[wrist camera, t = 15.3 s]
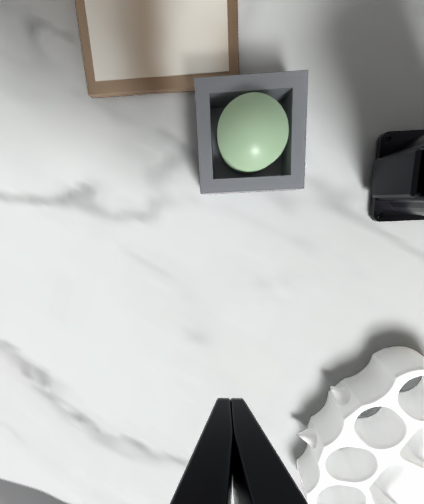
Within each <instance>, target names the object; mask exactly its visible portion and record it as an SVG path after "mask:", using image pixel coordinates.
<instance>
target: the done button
mask: <svg viewBox="0 0 424 504" xmlns="http://www.w3.org/2000/svg"><path fill="white" fill-rule="evenodd" d="M288 134H289V124H288V119H287V116H286V113H285V111H284V109H283V108H282V106H281V105H280V104H279V103H278V102H277V101H276V100H275V99H274V98H272V97H271V96H269V95H267V94H263V93H258V92H251V93H246V94H242V95H240V96H238V97H236V98H235V99H233V100H232V101H231V102H230V103H229V104H228V105H227V106H226V108H225V109H224V110H223V112H222V114H221V116H220V119H219V122H218V128H217V142H218V151H219V155H220V157H221V159H222V161H223V162H224V164H225V165H226V166H227V167H228V168H229V169H231V170H232V171H234V172H236V173H239V174H253V173H256V172H259V171H261V170H262V169H264V168H265V167H267V166H268V165H270V164H271V163H272V162H274V161H275V160H276V159H277V158H278V157H279V156H280V154H281V153H282V151H283V150H284V148H285V146H286V143H287V140H288Z"/></svg>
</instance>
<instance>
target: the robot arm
mask: <svg viewBox="0 0 424 504" xmlns="http://www.w3.org/2000/svg"><path fill="white" fill-rule="evenodd" d="M385 137H387V138H388V142H387V143H386V142H385V140H384V139H385ZM371 195H372V205H371V219H372V220H374V221H379V222H380V221H403V220H424V130H410V131H393V132H386V133H384V134H382V135H380V136H379V138H378V142H377V152H376V161H375V162H374V168H373V179H372V190H371ZM379 212H380V216H379V217H377V214H378V213H379ZM232 486H233V495H234V503H235V504H308V503H307V501H306V500H305V498H304V496H303V495H302V493H301V491H300V490H299V488H298V487H297V485H296V483H295V482H294V480H293V478H292V477H291V475H290V474H289V472H288V470H287V469H286V467H285V466H284V464H283V462H282V461H281V459H280V457H279V456H278V454H277V453H276V451H275V449H274V448H273V446H272V445H271V443H270V441H269V440H268V438H267V436H266V435H265V433H264V432H263V430H262V428H261V427H260V425H259V424H258V422H257V420H256V419H255V417H254V415H253V414H252V412H251V411H250V409H249V407H248V406H247V404H246V403H245V401H244V400H243V399H242V398H232V399H231V400H230V399H229V398H218V399H217V401H216V403H215V405H214V407H213V409H212V412H211V414H210V416H209V418H208V421H207V423H206V425H205V427H204V429H203V432H202V434H201V436H200V438H199V440H198V443H197V445H196V447H195V449H194V452H193V454H192V456H191V458H190V460H189V463H188V465H187V467H186V469H185V471H184V474H183V476H182V478H181V480H180V483H179V485H178V487H177V489H176V491H175V494H174V496H173V498H172V500H171V503H170V504H231V493H232Z"/></svg>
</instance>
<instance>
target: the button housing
mask: <svg viewBox="0 0 424 504" xmlns="http://www.w3.org/2000/svg"><path fill="white" fill-rule="evenodd" d="M194 86H195V104H196V122H197V139H198V157H199V174H200V192H201V194H223V193H243V192H262V191H282V190H295V189H303V188H304V176H305V147H306V118H307V89H308V70H300V71H286V72H272V73H258V74H244V75H230V76H216V77H202V78H194ZM251 92H258V93H263V94H267V95H269V96H271V97H272V98H274V99H275V100H276V101H277V102H278V103H279V104H280V105H281V106H282V108H283V109H284V111H285V113H286V116H287V119H288V124H289V134H288V140H287V143H286V146H285V148H284V150H283V151H282V153H281V154H280V156H279V157H278V158H277V159H276V160H275V161H274V162H272V163H271V164H270V165H268V166H267V167H265V168H264V169H262V170H261V171H259V172H256V173H253V174H239V173H236V172H234V171H232V170H231V169H229V168H228V167H227V166H226V165H225V164H224V162H223V161H222V159H221V157H220V155H219V151H218V142H217V128H218V122H219V119H220V116H221V114H222V112H223V110H224V109H225V108H226V106H227V105H228V104H229V103H230V102H231V101H232V100H233V99H235V98H236V97H238V96H240V95H242V94H246V93H251Z"/></svg>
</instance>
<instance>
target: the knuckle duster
mask: <svg viewBox="0 0 424 504" xmlns="http://www.w3.org/2000/svg"><path fill="white" fill-rule="evenodd" d="M418 376H422V378H421V380H420V382H419V383H418V385H417V386H416V387H414V388H413V389H411V390H409V391H406V392H399V391H400V389H401V387H402V386H403V385H404V384H405V383H406V382H408V381H409V380H411V379H413V378H415V377H418ZM330 389H331V390H330V391H329V392H328V398H327V401H326V403H325V405H324V407H323V408H322V409H321V410H320V411H319V412H318V413H316V414H315V415H313V416H311V417H310V420H309V423H308V426H307V429H306V430H304V431H301V432H299V433H297V435H298V436H299V437H300V438H302V439H303V440H304V441H305V442H307V448H306V450H305V452H304V453H303V454H302V455H301V456H300V457H299V458H298V459H297V461H296V464H297V469H298V473H299V476H300V480H301V483H302V487H303V490H304V494H305V497H306V500H307V503H308V504H424V356H422V355H421V354H420V353H418V352H417V351H415V350H413V349H411V348H408V347H402V346H393V347H388V348H384V349H381V350H379V351H377V352H375V353H374V354H373V355H372V358H371V360H370V362H369V363H368V365H367V366H366V367H365V368H364V369H363V370H362V371H361V372H359V373H358V374H356V375H354V376H352V377H349V378H344V379H343V380H341V381H340V382H339V383H338V384H337V385H336V386H330ZM379 406H382V407H381V408H380V410H379V411H378V412H377V413H376V414H374V415H372V416H370V417H366V418H357V417H358V416H359V415H360V414H361V413H362V412H364V411H365V410H367V409H369V408H372V407H379ZM342 447H345V448H342Z"/></svg>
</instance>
